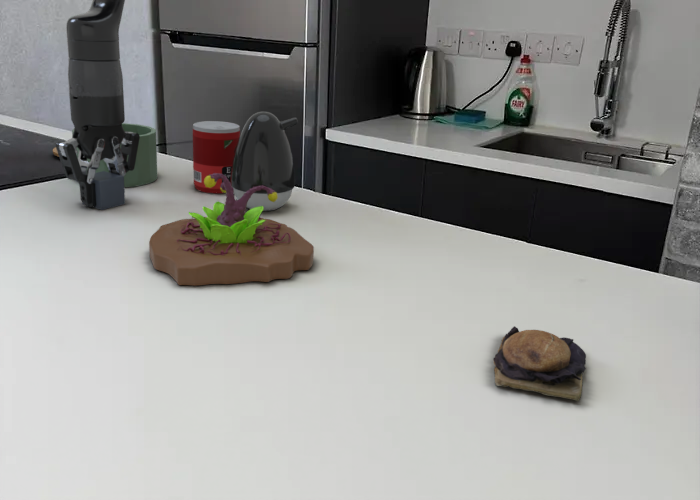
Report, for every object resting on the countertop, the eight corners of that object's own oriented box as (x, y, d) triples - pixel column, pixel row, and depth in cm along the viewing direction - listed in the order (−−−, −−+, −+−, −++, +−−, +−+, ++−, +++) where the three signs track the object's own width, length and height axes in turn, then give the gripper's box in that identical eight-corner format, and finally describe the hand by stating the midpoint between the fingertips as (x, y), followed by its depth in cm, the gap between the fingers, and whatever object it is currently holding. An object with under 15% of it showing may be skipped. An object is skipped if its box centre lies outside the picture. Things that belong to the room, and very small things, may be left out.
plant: (135, 239, 92) (131, 157, 88) (271, 226, 101) (273, 151, 97) (170, 296, 75) (168, 199, 72) (329, 275, 84) (334, 187, 80)
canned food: (231, 196, 115) (231, 130, 111) (186, 191, 116) (184, 126, 112) (245, 185, 122) (246, 123, 118) (203, 180, 123) (202, 119, 119)
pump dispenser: (300, 215, 107) (304, 118, 102) (233, 216, 104) (233, 116, 99) (289, 197, 116) (292, 107, 111) (227, 198, 113) (227, 105, 108)
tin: (89, 190, 112) (85, 139, 109) (67, 172, 122) (63, 124, 119) (168, 183, 120) (167, 134, 117) (141, 166, 130) (139, 121, 127)
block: (101, 210, 103) (99, 181, 101) (81, 204, 105) (79, 175, 104) (125, 204, 107) (123, 176, 105) (105, 198, 109) (103, 170, 107)
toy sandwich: (584, 407, 60) (592, 370, 58) (487, 386, 62) (493, 350, 60) (583, 352, 69) (590, 320, 68) (499, 336, 71) (504, 304, 70)
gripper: (117, 84, 108) (123, 189, 113) (36, 91, 96) (47, 207, 102) (151, 90, 104) (155, 198, 110) (71, 97, 92) (80, 217, 98)
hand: (103, 202), depth 106 cm, fingers closed on block, 4 cm apart
